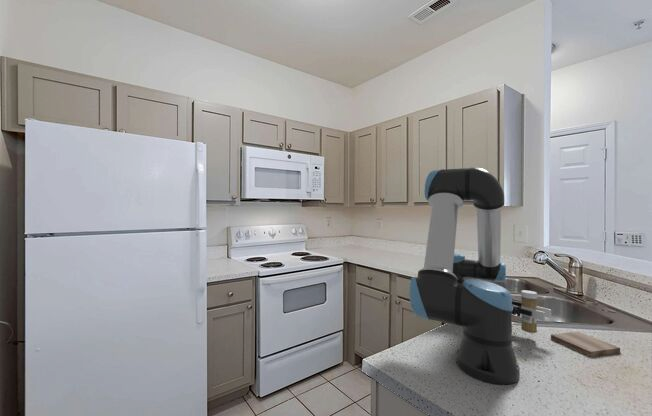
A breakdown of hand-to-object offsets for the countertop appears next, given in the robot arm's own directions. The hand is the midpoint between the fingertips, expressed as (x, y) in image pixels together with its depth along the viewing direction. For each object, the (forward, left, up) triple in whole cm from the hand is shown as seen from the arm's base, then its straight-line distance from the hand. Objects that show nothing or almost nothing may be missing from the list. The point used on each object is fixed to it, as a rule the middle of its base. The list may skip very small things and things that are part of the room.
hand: (547, 315), depth 93 cm
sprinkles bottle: (-2, +5, -7) cm, 9 cm away
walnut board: (+11, -3, -10) cm, 15 cm away
